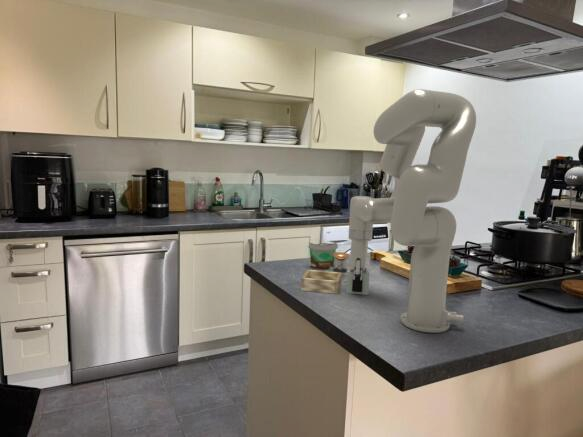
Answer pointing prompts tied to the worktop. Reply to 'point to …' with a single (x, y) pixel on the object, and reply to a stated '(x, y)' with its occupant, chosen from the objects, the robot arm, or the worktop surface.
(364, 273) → the pale green box
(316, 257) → the food container
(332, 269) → the plunger base
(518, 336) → the worktop surface
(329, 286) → the bay
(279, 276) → the worktop surface
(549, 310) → the worktop surface
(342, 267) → the plunger
